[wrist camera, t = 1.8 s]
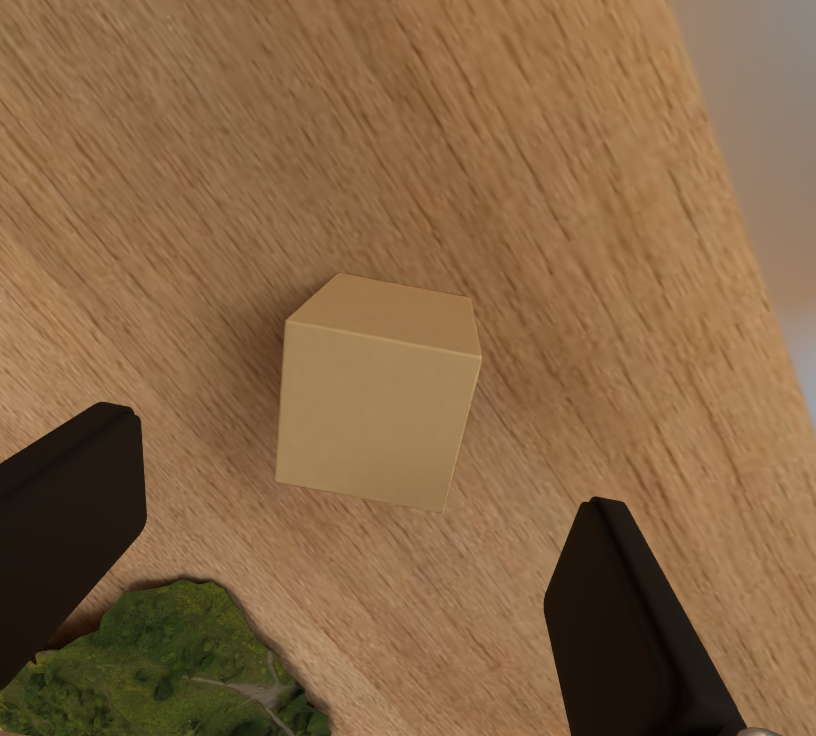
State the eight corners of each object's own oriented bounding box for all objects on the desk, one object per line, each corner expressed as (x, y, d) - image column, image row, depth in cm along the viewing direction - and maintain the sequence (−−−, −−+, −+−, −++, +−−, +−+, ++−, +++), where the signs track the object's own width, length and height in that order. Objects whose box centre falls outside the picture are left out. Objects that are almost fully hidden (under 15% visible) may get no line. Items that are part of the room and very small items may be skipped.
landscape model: (366, 723, 30) (355, 828, 25) (111, 765, 34) (64, 860, 30) (221, 556, 22) (171, 663, 18) (-78, 638, 27) (-176, 739, 23)
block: (337, 272, 17) (283, 319, 11) (471, 297, 17) (483, 357, 11) (324, 392, 19) (273, 483, 13) (444, 414, 19) (443, 515, 13)
